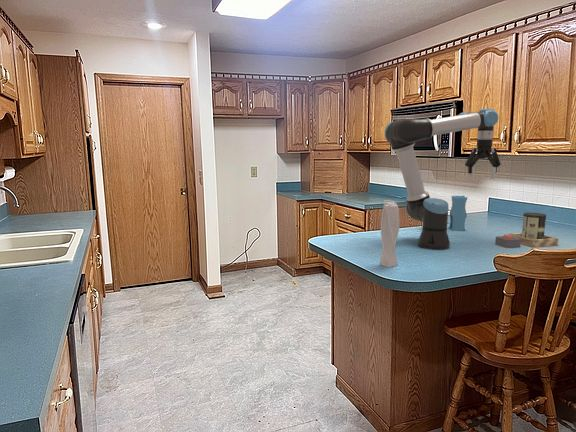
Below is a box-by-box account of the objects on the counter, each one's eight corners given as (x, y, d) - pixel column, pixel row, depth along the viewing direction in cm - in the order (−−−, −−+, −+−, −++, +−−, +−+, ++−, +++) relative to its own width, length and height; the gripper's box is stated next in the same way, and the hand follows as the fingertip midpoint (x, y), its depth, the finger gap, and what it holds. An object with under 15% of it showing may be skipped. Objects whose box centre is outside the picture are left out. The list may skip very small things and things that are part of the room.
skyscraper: (388, 268, 176) (391, 200, 171) (374, 264, 182) (377, 199, 177) (401, 265, 180) (404, 199, 176) (387, 261, 186) (390, 197, 182)
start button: (507, 244, 213) (507, 236, 212) (500, 242, 217) (501, 234, 217) (514, 243, 214) (515, 236, 214) (508, 241, 218) (508, 234, 218)
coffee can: (539, 239, 226) (542, 212, 224) (546, 243, 216) (549, 216, 214) (518, 238, 228) (520, 212, 226) (524, 242, 218) (527, 215, 216)
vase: (465, 231, 252) (467, 197, 249) (451, 230, 253) (453, 197, 250) (462, 228, 260) (464, 195, 256) (448, 228, 261) (450, 195, 257)
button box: (506, 247, 211) (507, 239, 210) (495, 244, 219) (495, 236, 218) (520, 246, 213) (520, 239, 212) (508, 243, 221) (509, 235, 220)
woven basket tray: (531, 247, 212) (532, 240, 212) (507, 240, 228) (508, 233, 227) (557, 245, 216) (558, 238, 216) (532, 238, 232) (533, 232, 231)
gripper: (469, 139, 219) (466, 180, 223) (510, 139, 225) (506, 179, 229) (459, 139, 226) (457, 179, 230) (499, 139, 232) (496, 178, 236)
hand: (481, 179), depth 229 cm, fingers open, 13 cm apart
